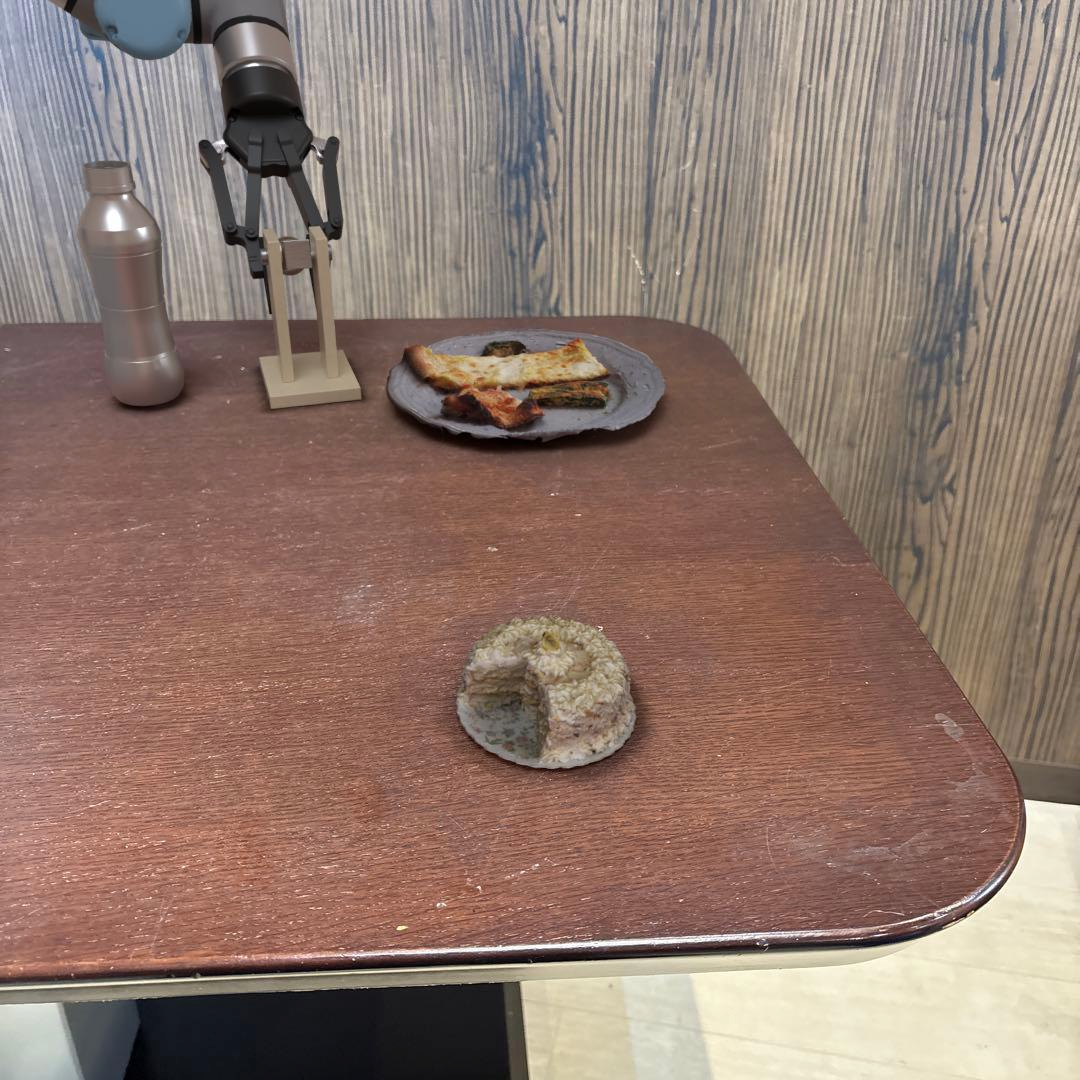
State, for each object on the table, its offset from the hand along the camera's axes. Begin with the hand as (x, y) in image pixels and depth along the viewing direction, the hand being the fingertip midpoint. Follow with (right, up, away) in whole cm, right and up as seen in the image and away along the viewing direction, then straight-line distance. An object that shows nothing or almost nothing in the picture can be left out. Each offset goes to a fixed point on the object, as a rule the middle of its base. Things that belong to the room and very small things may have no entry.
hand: (297, 305), depth 94 cm
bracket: (+1, -7, 0) cm, 7 cm away
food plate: (+21, -9, -2) cm, 23 cm away
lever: (0, +2, -2) cm, 3 cm away
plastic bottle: (-12, -10, -4) cm, 16 cm away
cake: (+23, -31, -38) cm, 55 cm away
